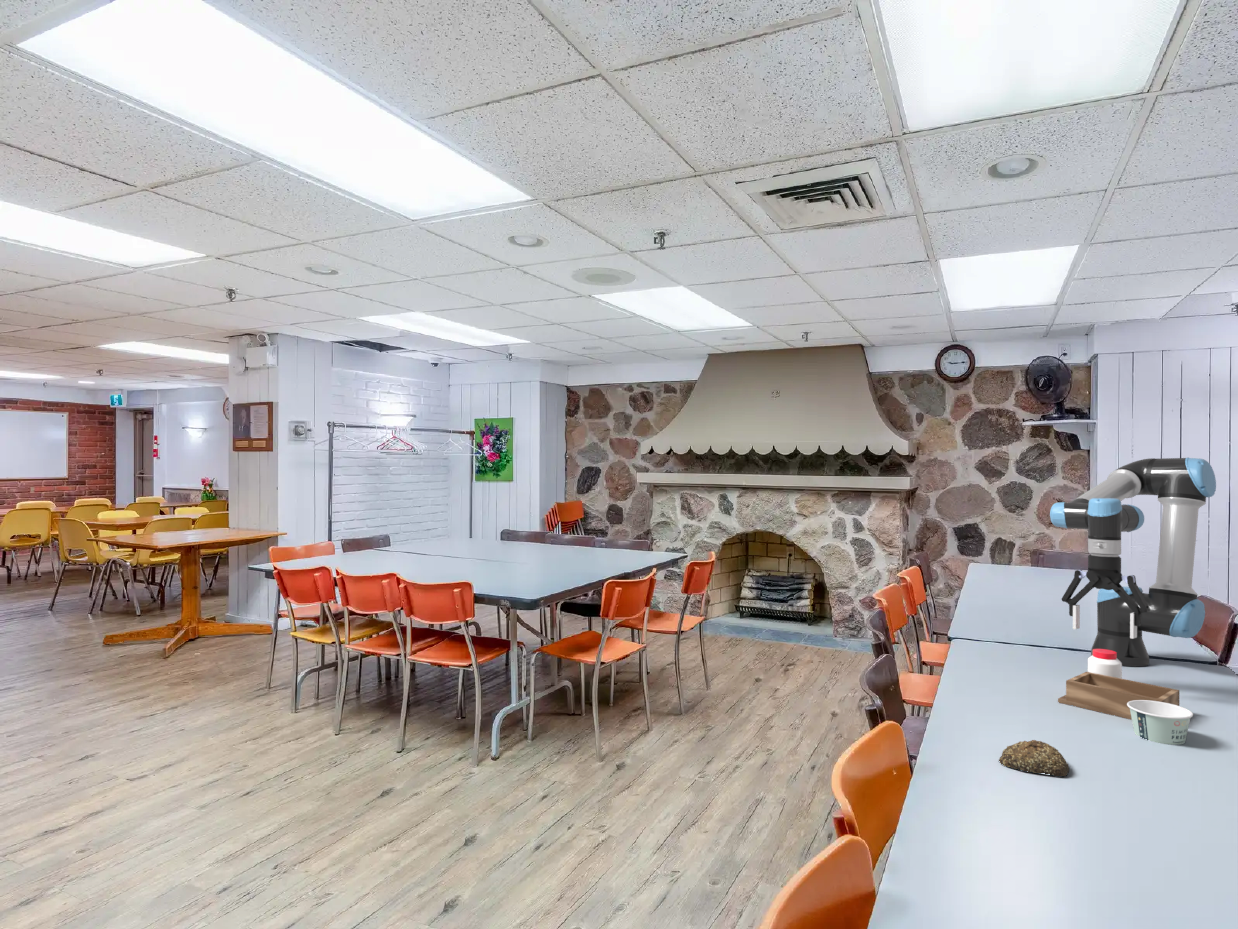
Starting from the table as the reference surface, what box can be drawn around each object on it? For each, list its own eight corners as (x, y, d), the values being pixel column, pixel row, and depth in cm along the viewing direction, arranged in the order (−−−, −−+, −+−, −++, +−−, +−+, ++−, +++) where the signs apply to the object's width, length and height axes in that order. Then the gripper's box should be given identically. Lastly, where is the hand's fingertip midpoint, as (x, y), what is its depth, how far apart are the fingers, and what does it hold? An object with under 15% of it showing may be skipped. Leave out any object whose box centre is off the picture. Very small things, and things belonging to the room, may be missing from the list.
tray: (1079, 692, 196) (1079, 670, 196) (1188, 716, 177) (1188, 691, 177) (1058, 702, 187) (1058, 679, 187) (1170, 729, 168) (1170, 703, 168)
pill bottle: (1127, 697, 192) (1127, 655, 192) (1095, 695, 193) (1095, 654, 193) (1113, 688, 199) (1113, 648, 199) (1082, 686, 201) (1082, 647, 201)
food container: (1175, 751, 155) (1175, 720, 155) (1115, 733, 166) (1115, 704, 166) (1204, 741, 161) (1204, 712, 161) (1144, 724, 172) (1144, 696, 172)
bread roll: (1068, 783, 140) (1068, 757, 140) (997, 769, 147) (997, 744, 147) (1069, 760, 151) (1069, 736, 151) (1002, 748, 158) (1002, 725, 158)
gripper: (1048, 551, 204) (1048, 626, 204) (1154, 560, 184) (1154, 644, 184) (1059, 549, 209) (1059, 623, 208) (1164, 558, 189) (1164, 640, 189)
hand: (1104, 633), depth 196 cm, fingers open, 13 cm apart
